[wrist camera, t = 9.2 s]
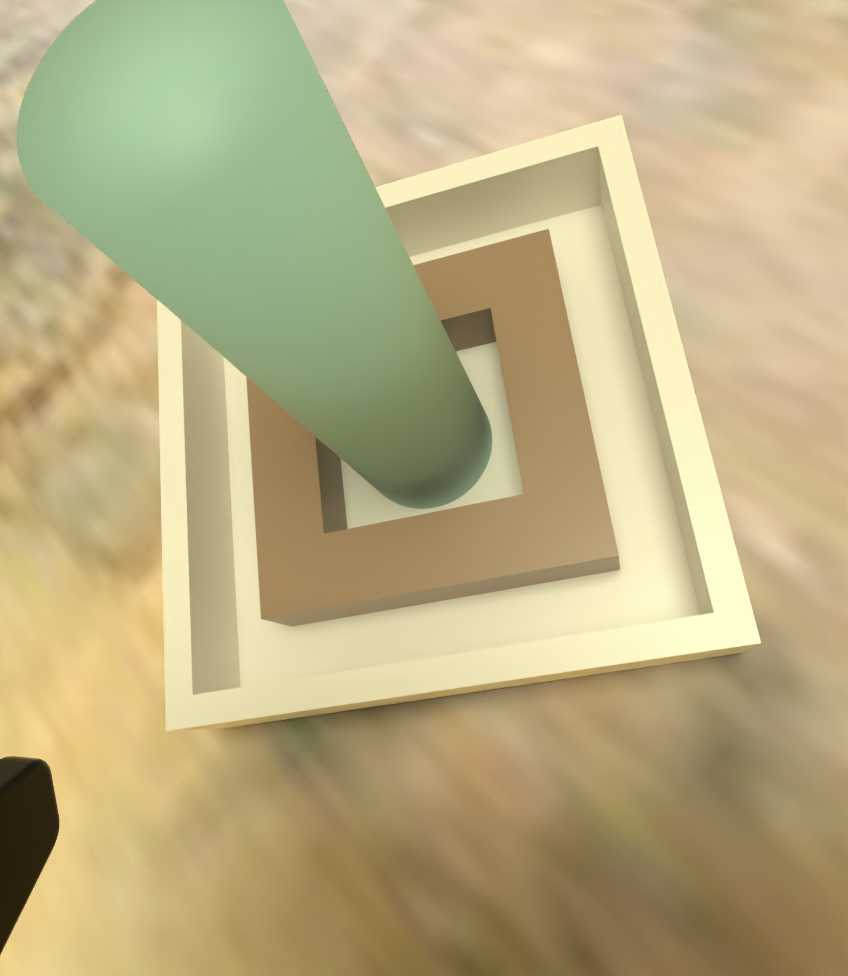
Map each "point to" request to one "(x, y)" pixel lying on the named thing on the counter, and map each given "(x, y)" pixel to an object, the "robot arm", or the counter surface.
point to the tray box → (489, 503)
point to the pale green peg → (254, 226)
